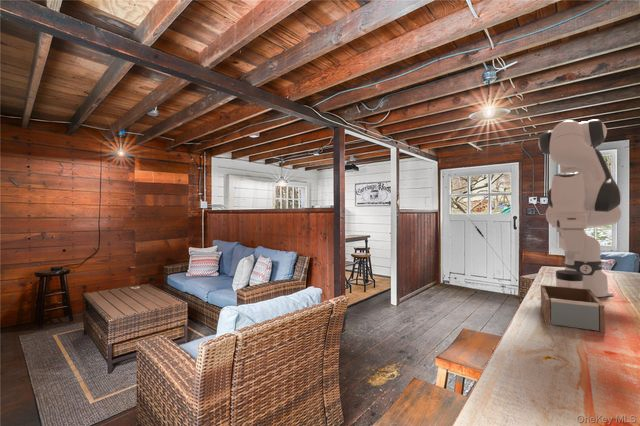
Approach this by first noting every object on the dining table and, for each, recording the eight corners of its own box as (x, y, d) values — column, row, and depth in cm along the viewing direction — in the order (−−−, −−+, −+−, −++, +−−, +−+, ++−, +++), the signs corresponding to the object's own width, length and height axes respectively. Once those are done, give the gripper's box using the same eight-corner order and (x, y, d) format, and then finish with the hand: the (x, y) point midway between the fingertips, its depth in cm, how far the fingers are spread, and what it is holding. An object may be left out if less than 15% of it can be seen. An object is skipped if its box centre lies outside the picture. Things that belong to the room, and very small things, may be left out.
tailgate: (550, 322, 97) (550, 298, 97) (598, 329, 91) (597, 303, 91) (551, 324, 96) (550, 299, 96) (599, 330, 90) (598, 304, 90)
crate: (541, 306, 114) (540, 285, 114) (590, 311, 107) (589, 289, 107) (546, 324, 97) (545, 299, 97) (605, 332, 90) (604, 305, 90)
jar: (590, 304, 114) (589, 273, 114) (576, 308, 111) (575, 275, 111) (563, 298, 122) (563, 269, 122) (550, 301, 119) (549, 271, 119)
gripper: (552, 220, 109) (553, 259, 109) (560, 223, 91) (561, 269, 91) (575, 220, 105) (576, 260, 105) (588, 223, 88) (589, 270, 88)
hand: (569, 264), depth 98 cm, fingers closed
